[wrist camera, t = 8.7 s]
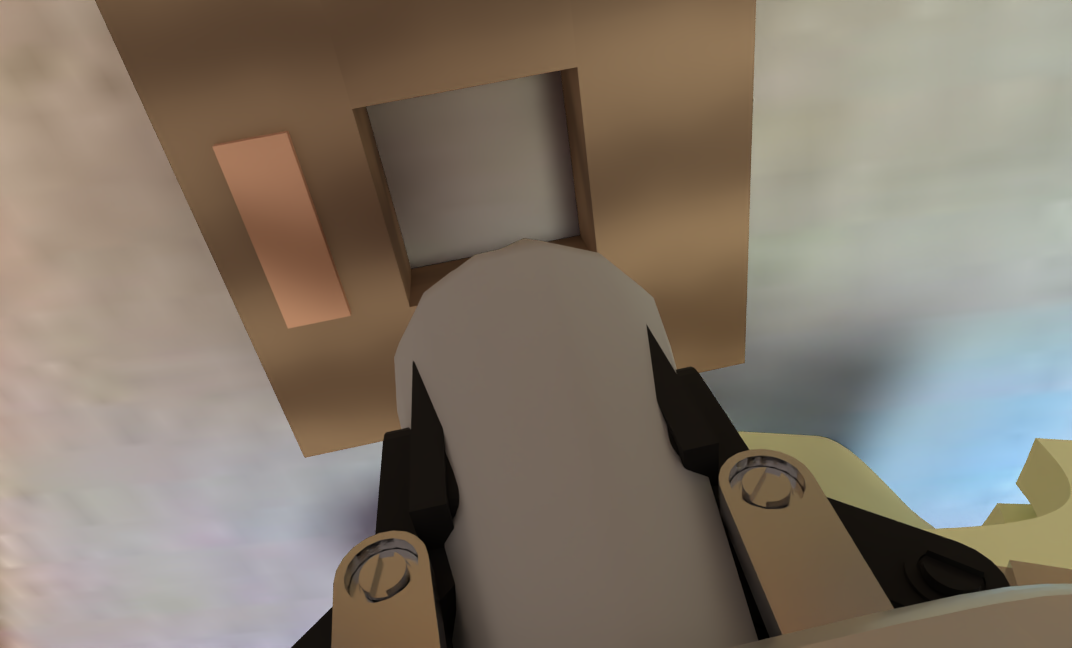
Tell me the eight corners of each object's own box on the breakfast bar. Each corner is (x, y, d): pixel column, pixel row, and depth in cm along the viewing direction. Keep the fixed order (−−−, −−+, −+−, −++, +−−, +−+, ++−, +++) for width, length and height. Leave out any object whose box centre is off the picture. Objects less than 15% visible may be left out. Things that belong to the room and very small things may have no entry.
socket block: (111, -76, 20) (52, -82, 17) (714, -176, 21) (766, -200, 18) (316, 408, 31) (303, 462, 27) (714, 324, 32) (747, 366, 28)
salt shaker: (620, 410, 17) (982, 1238, 6) (405, 422, 16) (368, 1423, 5) (650, 203, 14) (1447, 1060, 3) (391, 204, 13) (235, 1409, 2)
